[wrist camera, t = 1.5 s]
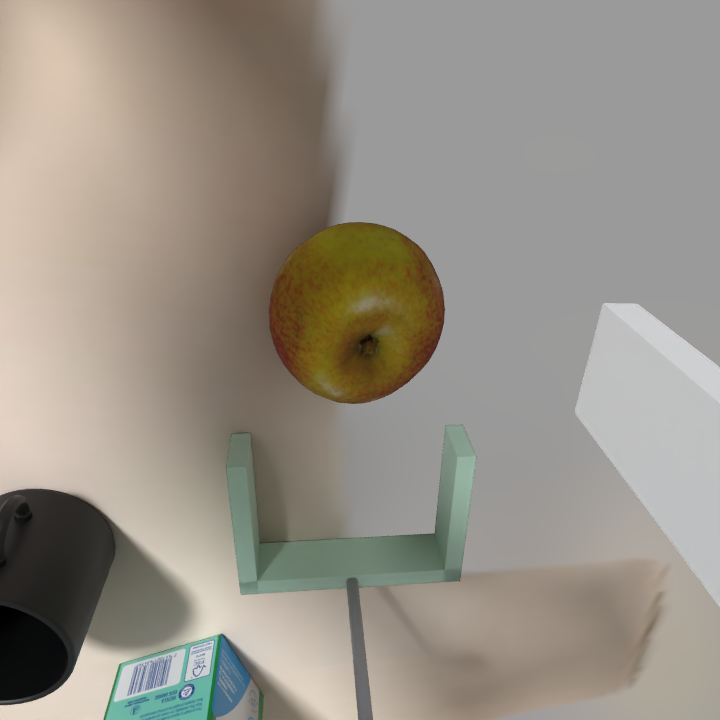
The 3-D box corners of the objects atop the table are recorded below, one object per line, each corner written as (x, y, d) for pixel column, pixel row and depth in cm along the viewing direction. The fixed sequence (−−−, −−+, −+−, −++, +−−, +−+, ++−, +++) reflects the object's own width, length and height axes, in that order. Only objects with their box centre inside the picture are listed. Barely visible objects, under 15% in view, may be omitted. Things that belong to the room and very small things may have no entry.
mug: (115, 460, 39) (68, 568, 31) (118, 588, 44) (78, 708, 36) (-41, 448, 37) (-133, 558, 30) (-19, 582, 43) (-91, 705, 35)
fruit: (372, 381, 38) (389, 458, 31) (243, 319, 35) (229, 388, 28) (459, 255, 34) (499, 309, 27) (322, 174, 32) (329, 212, 25)
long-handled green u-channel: (231, 434, 39) (195, 645, 25) (462, 424, 40) (547, 620, 26) (244, 556, 44) (220, 786, 30) (448, 544, 45) (513, 760, 32)
